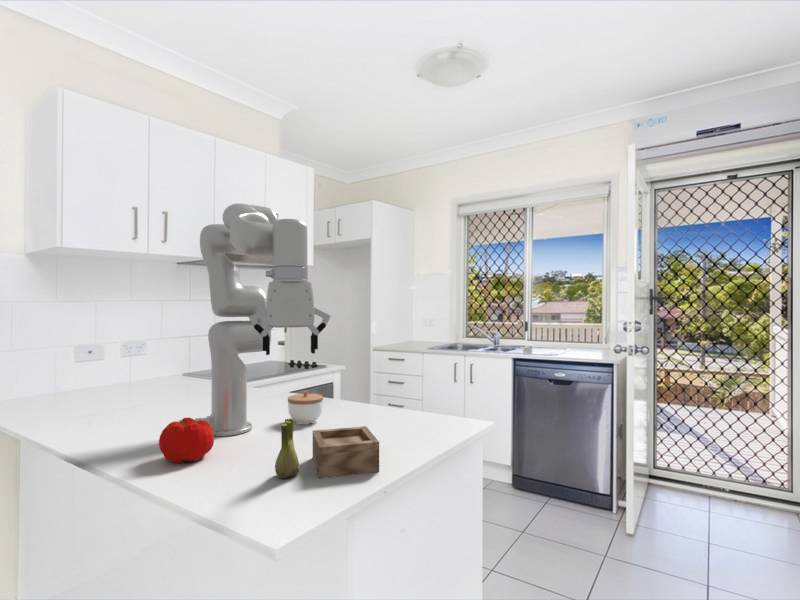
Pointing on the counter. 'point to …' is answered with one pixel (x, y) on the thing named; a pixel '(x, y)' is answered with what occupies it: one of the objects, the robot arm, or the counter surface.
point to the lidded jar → (305, 407)
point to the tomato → (186, 440)
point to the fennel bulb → (287, 453)
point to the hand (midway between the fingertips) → (290, 353)
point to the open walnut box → (345, 451)
